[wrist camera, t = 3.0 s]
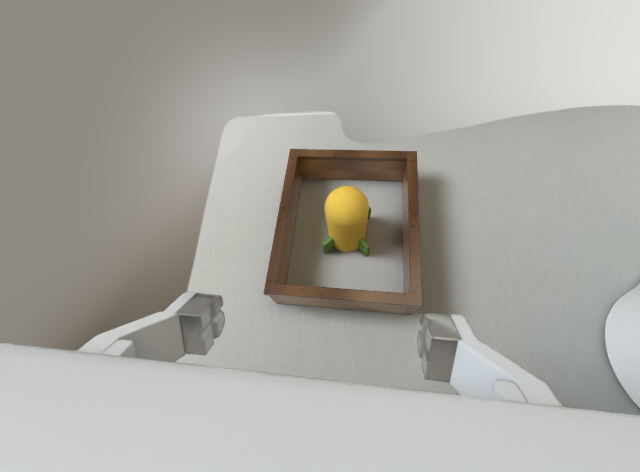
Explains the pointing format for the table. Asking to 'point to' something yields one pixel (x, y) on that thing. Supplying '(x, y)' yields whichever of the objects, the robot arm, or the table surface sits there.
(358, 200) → the corn plush toy
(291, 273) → the table surface
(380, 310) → the wooden box
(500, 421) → the robot arm
